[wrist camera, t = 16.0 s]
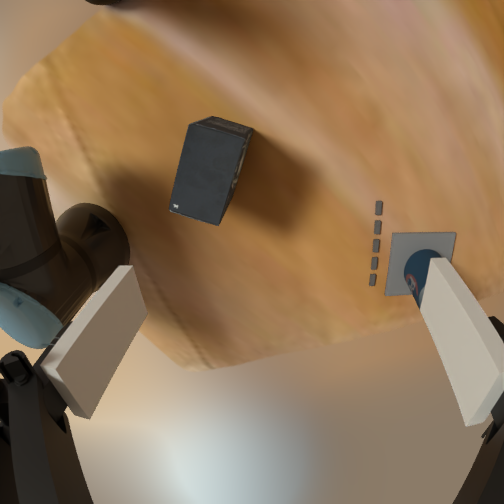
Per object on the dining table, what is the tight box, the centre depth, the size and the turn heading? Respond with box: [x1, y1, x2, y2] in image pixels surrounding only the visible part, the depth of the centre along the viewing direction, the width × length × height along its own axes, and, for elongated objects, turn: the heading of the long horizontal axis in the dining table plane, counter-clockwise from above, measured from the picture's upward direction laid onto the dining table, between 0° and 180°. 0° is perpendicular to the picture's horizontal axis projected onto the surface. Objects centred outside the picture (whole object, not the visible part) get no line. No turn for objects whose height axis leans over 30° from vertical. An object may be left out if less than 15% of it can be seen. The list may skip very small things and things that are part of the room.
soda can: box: [404, 249, 442, 309], centre depth 41 cm, size 7×7×12 cm
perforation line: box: [369, 201, 382, 286], centre depth 46 cm, size 1×14×1 cm, turn 5°
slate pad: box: [385, 232, 456, 296], centre depth 46 cm, size 11×11×1 cm
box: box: [169, 116, 253, 226], centre depth 38 cm, size 11×7×10 cm, turn 163°
